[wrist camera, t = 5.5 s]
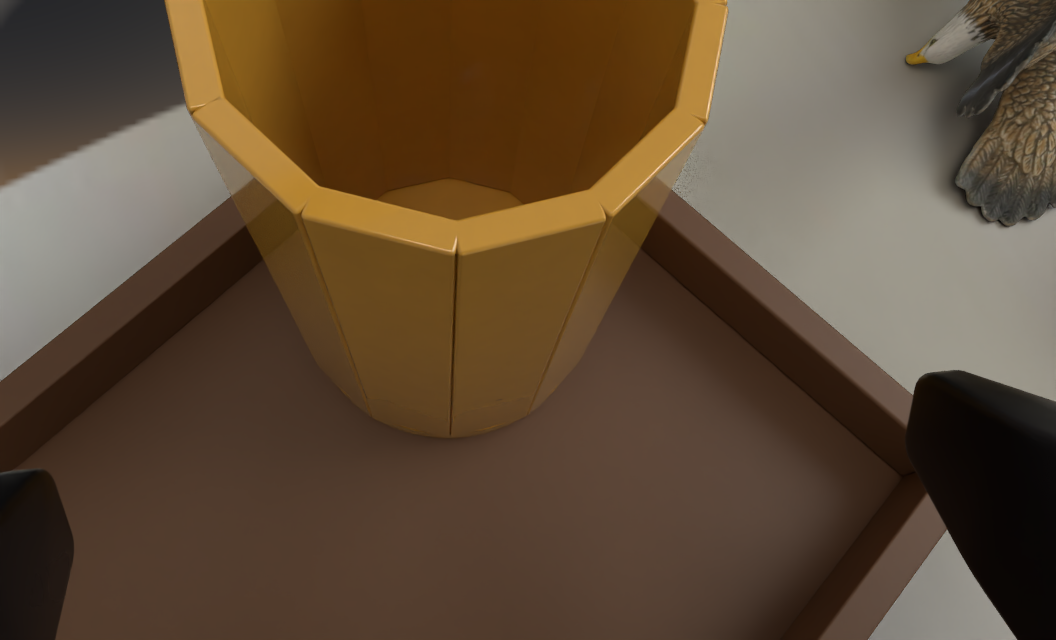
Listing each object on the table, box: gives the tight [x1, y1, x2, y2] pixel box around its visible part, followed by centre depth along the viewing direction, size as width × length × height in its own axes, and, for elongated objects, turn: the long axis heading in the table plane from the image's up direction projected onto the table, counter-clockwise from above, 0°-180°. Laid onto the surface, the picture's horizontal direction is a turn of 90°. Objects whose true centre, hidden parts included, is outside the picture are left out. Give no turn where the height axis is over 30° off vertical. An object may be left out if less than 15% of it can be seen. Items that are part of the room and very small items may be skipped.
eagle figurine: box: [906, 0, 1056, 226], centre depth 23 cm, size 8×7×9 cm
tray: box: [0, 190, 947, 640], centre depth 19 cm, size 17×19×3 cm
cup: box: [164, 0, 728, 438], centre depth 16 cm, size 7×7×11 cm
